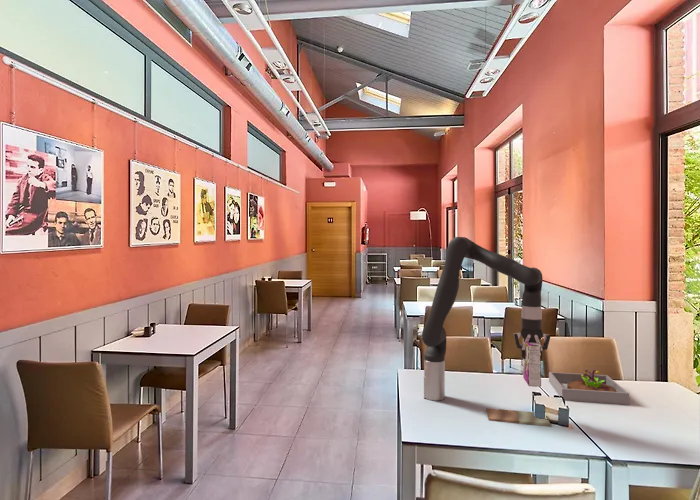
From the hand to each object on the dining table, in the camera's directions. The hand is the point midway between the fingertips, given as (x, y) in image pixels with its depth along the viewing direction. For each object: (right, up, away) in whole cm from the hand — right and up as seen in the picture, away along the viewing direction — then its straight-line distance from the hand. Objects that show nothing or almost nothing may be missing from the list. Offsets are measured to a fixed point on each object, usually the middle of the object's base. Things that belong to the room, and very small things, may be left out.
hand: (531, 359), depth 170 cm
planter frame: (+39, -24, +31) cm, 56 cm away
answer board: (-5, -24, +1) cm, 25 cm away
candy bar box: (0, -10, 0) cm, 10 cm away
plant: (+44, -25, +33) cm, 60 cm away
